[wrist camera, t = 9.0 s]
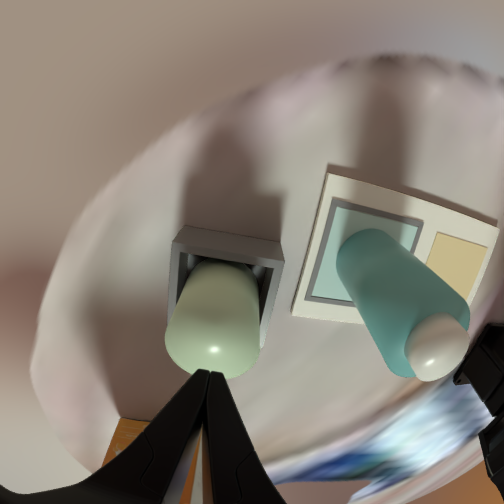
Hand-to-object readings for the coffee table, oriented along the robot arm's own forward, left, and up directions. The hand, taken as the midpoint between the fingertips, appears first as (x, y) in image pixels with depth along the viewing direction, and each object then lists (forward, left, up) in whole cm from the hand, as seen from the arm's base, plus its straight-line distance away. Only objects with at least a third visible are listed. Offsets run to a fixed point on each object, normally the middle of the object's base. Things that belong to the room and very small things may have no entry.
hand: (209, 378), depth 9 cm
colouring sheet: (-10, -3, -7) cm, 13 cm away
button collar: (0, 0, -7) cm, 7 cm away
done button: (0, 0, -6) cm, 6 cm away
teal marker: (-7, -3, -7) cm, 10 cm away
